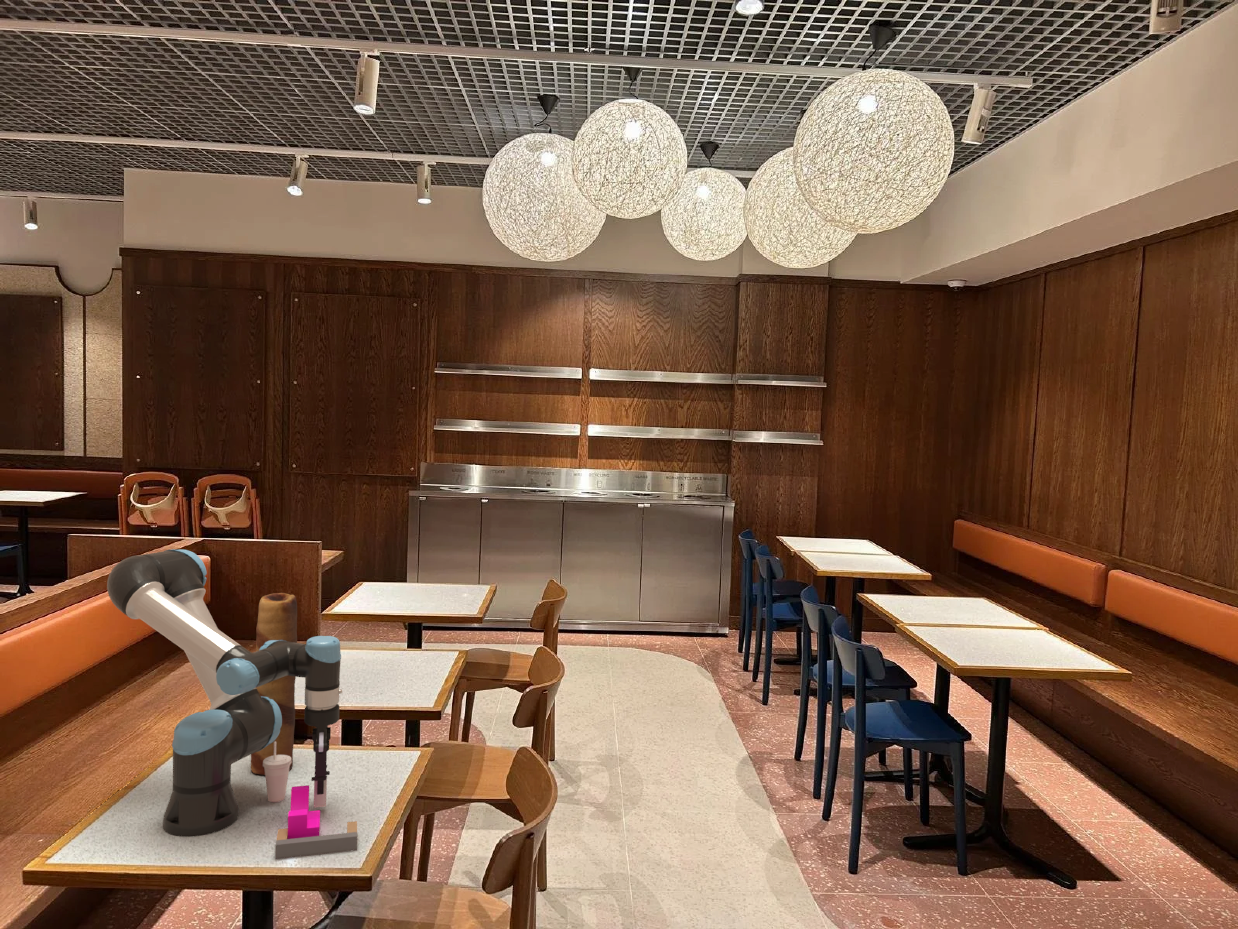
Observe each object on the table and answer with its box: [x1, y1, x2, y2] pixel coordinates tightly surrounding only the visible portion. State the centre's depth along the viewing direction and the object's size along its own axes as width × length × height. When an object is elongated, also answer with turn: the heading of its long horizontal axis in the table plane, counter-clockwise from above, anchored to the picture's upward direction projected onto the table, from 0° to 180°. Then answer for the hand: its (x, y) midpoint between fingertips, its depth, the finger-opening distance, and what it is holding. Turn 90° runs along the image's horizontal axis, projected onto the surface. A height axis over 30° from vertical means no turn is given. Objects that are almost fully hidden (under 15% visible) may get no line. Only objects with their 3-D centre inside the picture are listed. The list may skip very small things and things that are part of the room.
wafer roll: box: [250, 592, 298, 776], centre depth 218 cm, size 10×11×45 cm
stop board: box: [274, 821, 358, 860], centre depth 180 cm, size 16×7×4 cm, turn 108°
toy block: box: [287, 785, 321, 839], centre depth 187 cm, size 15×6×8 cm, turn 18°
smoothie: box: [263, 741, 292, 803], centre depth 202 cm, size 6×6×14 cm
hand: (320, 805), depth 196 cm, fingers closed
